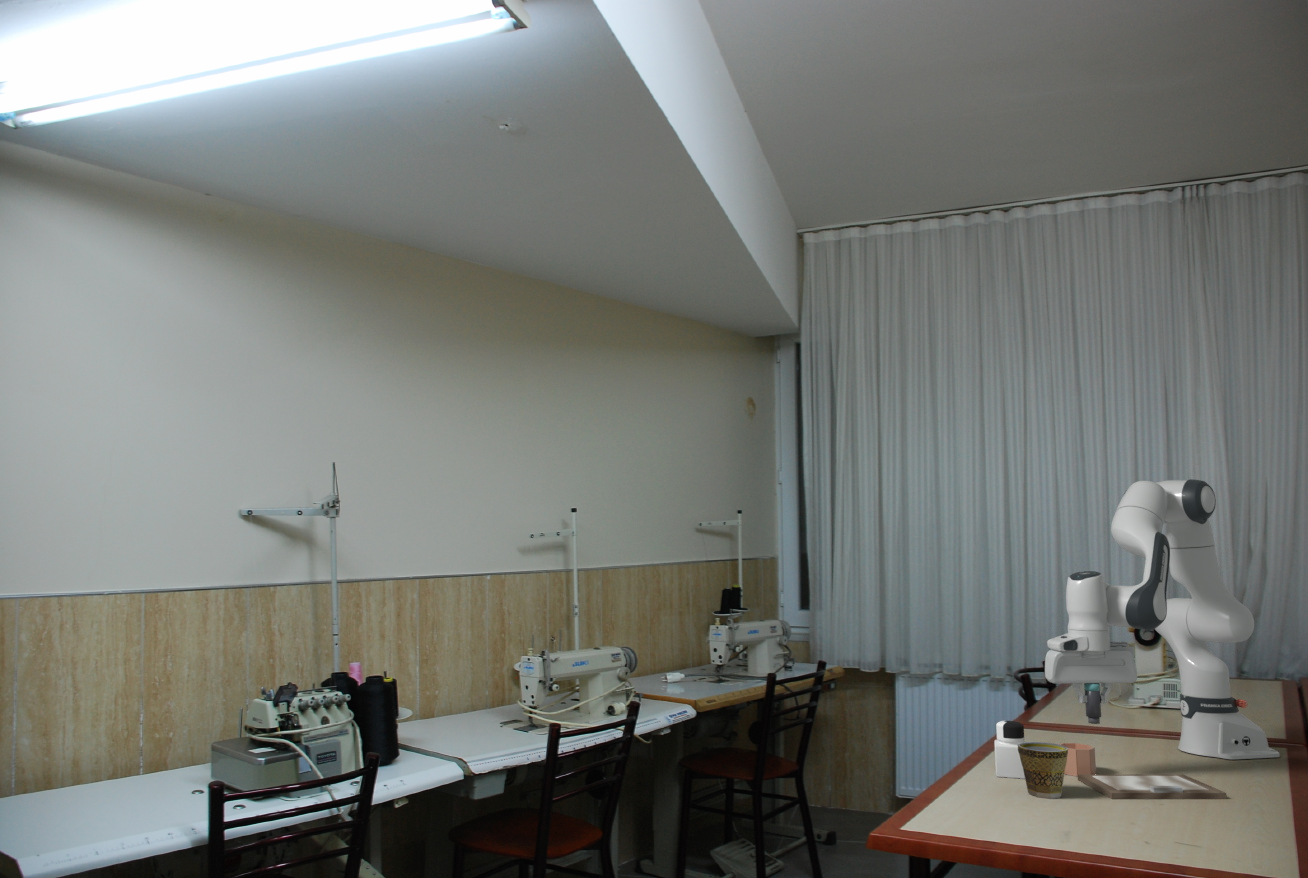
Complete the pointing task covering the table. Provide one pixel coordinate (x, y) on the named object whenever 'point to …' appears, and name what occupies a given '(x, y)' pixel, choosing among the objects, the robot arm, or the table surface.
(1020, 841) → the table surface
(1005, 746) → the medicine bottle
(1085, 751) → the pen pot
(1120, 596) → the robot arm
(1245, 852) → the table surface
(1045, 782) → the ceramic cup
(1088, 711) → the marker
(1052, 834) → the table surface
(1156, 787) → the brown picture frame
